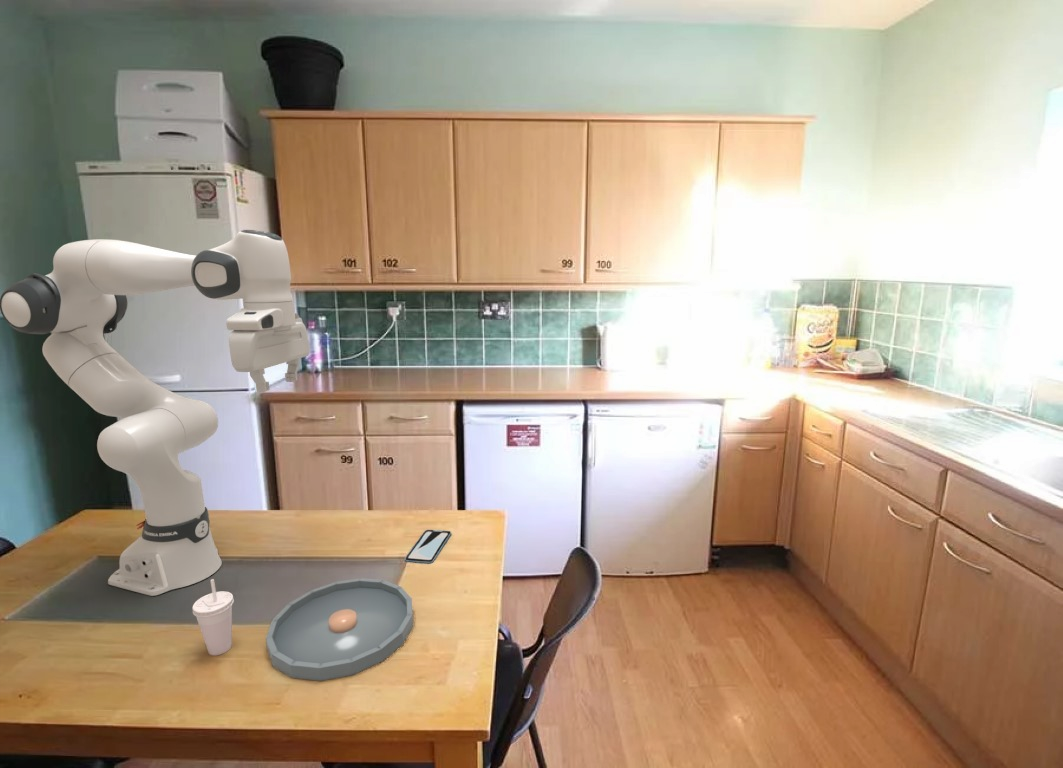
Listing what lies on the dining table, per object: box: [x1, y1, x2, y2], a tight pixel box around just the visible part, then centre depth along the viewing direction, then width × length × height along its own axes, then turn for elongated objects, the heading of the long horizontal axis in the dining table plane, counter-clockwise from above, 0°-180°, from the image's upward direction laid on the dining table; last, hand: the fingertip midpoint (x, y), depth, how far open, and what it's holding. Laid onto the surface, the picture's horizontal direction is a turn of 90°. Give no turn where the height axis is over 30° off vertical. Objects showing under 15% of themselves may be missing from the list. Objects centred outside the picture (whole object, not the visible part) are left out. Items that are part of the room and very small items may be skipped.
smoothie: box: [192, 578, 235, 656], centre depth 96 cm, size 6×6×14 cm
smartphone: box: [404, 529, 452, 565], centre depth 132 cm, size 7×1×15 cm
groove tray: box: [265, 577, 414, 682], centre depth 102 cm, size 26×26×2 cm
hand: (278, 386), depth 106 cm, fingers open, 8 cm apart
